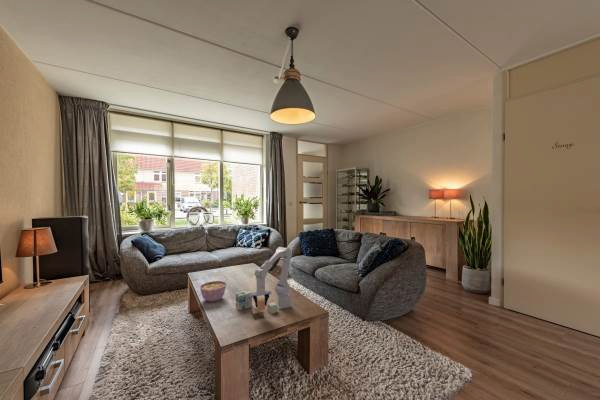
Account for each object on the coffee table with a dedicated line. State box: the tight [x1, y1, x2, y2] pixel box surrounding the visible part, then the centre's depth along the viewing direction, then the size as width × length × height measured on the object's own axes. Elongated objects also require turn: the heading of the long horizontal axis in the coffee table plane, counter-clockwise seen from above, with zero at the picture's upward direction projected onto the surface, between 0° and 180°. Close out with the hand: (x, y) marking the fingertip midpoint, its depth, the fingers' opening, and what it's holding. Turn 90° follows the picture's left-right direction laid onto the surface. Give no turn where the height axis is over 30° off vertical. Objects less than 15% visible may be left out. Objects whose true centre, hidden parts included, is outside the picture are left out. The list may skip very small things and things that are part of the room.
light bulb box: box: [235, 289, 253, 311], centre depth 180 cm, size 11×7×11 cm, turn 126°
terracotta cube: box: [256, 297, 266, 311], centre depth 164 cm, size 5×5×6 cm
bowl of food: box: [199, 280, 227, 303], centre depth 193 cm, size 20×20×12 cm
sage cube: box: [267, 301, 278, 315], centre depth 172 cm, size 5×5×6 cm
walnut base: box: [251, 307, 265, 319], centre depth 167 cm, size 7×7×4 cm
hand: (261, 305), depth 164 cm, fingers closed on terracotta cube, 6 cm apart
